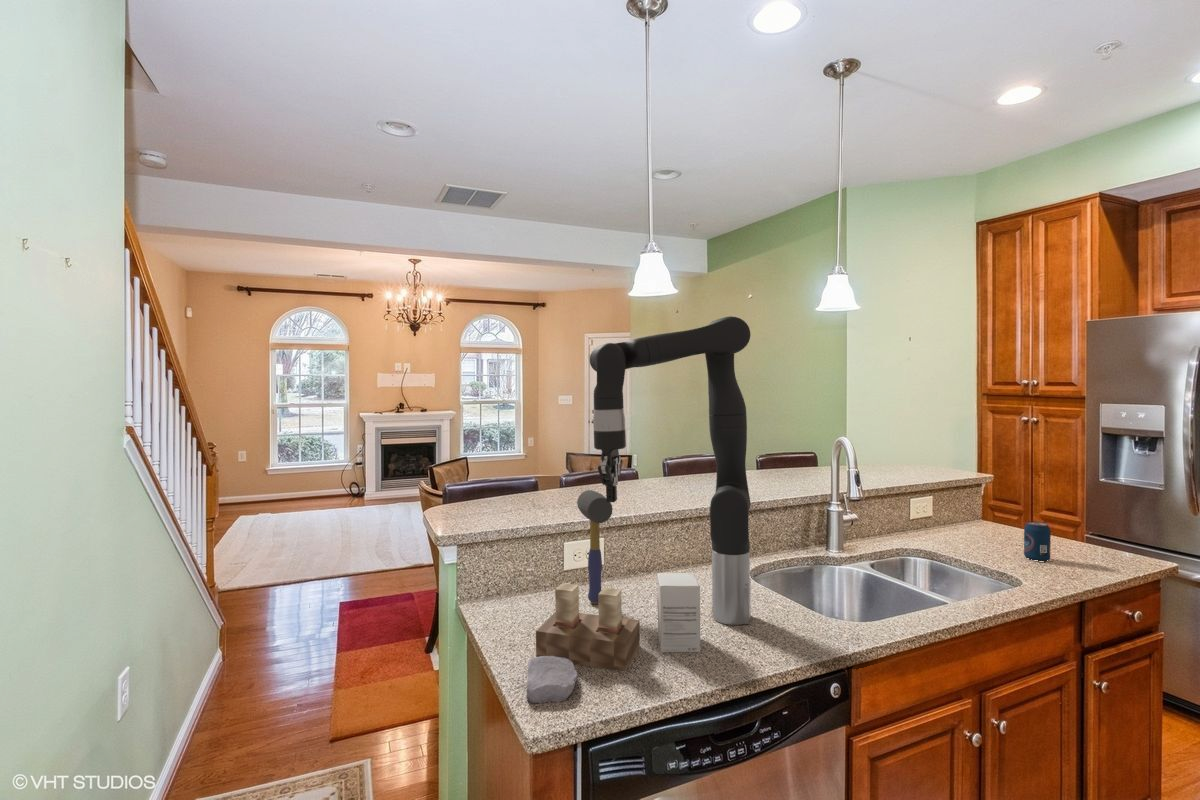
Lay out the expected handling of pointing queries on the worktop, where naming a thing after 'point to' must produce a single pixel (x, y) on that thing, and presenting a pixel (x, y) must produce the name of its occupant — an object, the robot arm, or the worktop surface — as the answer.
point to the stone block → (550, 679)
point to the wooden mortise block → (589, 643)
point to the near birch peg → (610, 611)
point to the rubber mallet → (594, 536)
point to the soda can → (1037, 541)
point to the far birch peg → (567, 606)
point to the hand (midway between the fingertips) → (611, 501)
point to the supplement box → (678, 612)
